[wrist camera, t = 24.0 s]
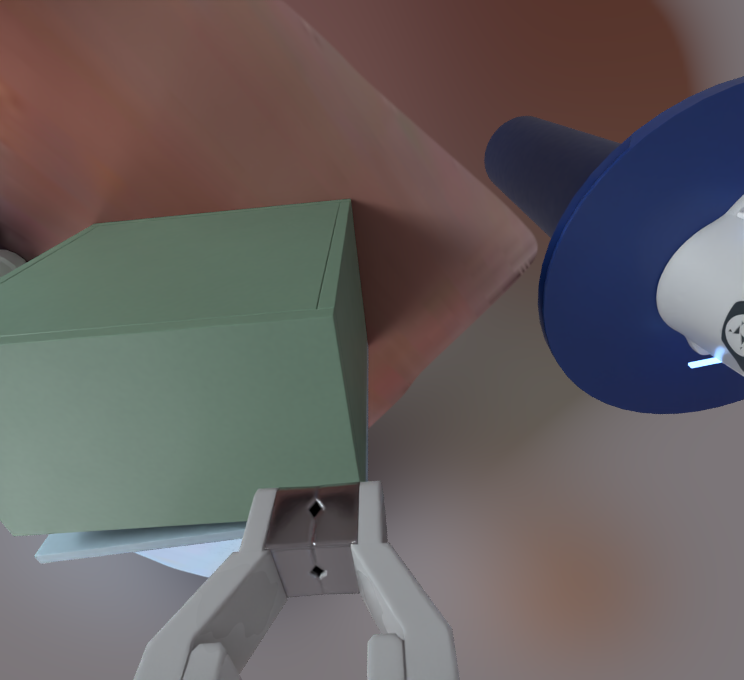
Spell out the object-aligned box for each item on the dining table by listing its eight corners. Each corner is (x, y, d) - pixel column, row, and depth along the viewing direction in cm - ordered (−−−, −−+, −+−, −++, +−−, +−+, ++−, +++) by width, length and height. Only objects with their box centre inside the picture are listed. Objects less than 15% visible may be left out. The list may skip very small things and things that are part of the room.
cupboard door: (376, 382, 55) (380, 565, 35) (179, 412, 58) (76, 600, 37) (366, 340, 52) (365, 514, 32) (158, 374, 54) (33, 556, 34)
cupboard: (367, 337, 52) (365, 514, 31) (150, 355, 53) (13, 536, 33) (350, 198, 43) (333, 316, 23) (93, 223, 45) (-139, 356, 24)
